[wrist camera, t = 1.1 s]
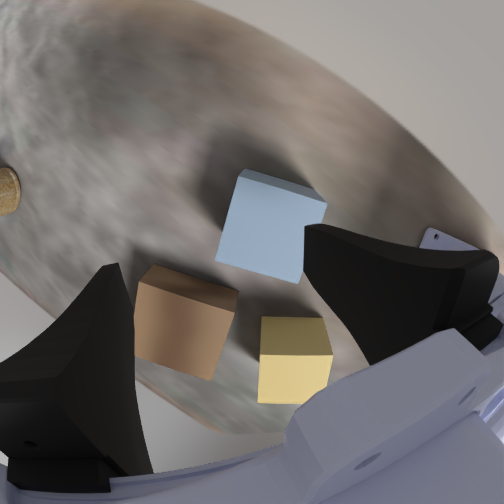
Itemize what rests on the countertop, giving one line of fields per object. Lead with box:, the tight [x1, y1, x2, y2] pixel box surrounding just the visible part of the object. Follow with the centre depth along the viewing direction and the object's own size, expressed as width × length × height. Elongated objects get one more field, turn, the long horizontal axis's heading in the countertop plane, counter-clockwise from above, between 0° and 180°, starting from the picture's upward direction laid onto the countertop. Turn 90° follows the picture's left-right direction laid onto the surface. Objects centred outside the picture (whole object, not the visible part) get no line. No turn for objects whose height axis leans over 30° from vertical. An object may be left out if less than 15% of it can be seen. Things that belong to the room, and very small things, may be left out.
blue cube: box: [215, 168, 328, 284], centre depth 19 cm, size 5×5×5 cm
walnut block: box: [134, 264, 239, 381], centre depth 23 cm, size 7×7×4 cm
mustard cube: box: [258, 316, 333, 404], centre depth 23 cm, size 5×5×5 cm
